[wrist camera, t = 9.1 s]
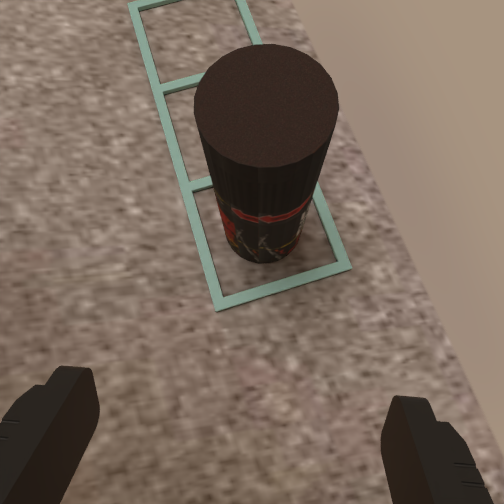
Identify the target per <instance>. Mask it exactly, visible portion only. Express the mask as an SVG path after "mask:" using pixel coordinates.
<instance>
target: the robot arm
mask: <svg viewBox="0 0 504 504" xmlns="http://www.w3.org/2000/svg"><path fill="white" fill-rule="evenodd" d="M99 413H100V406H99V401H98V396H97V391H96V387H95V382H94V378H93V373H92V370H91V369H90V368H84V367H73V366H59V367H58V368H57V369H56V370H55V371H54V372H53V374H52V375H51V377H50V378H49V380H48V381H47V383H46V384H45V385H35V386H33V387H32V388H31V389H29V390H28V391H27V392H26V393H24V394H23V395H22V396H21V397H19V398H18V399H17V400H16V401H15V402H14V403H13V405H12V406H11V408H10V409H9V410H8V412H7V413H6V414H5V416H4V417H3V418H2V422H1V423H0V504H60V502H61V500H62V498H63V496H64V494H65V492H66V490H67V488H68V486H69V483H70V481H71V479H72V477H73V475H74V473H75V471H76V469H77V467H78V465H79V463H80V461H81V458H82V456H83V454H84V452H85V450H86V448H87V446H88V444H89V442H90V440H91V438H92V436H93V433H94V431H95V429H96V426H97V423H98V419H99ZM381 454H382V460H383V464H384V468H385V472H386V476H387V481H388V485H389V489H390V493H391V498H392V502H393V504H494V503H493V501H492V499H491V497H490V494H489V492H488V490H487V488H485V486H484V481H483V479H482V477H481V475H480V472H479V470H478V469H476V464H475V461H474V459H473V457H472V455H471V453H470V450H469V448H468V446H467V444H466V442H465V441H464V439H463V438H462V437H461V436H460V435H459V434H458V433H457V431H456V430H455V429H454V428H453V427H452V426H451V424H450V423H449V422H440V421H437V420H436V418H435V415H434V413H433V410H432V408H431V405H430V403H429V402H428V400H427V399H426V398H420V397H409V396H397V395H396V396H394V397H393V399H392V402H391V405H390V408H389V411H388V414H387V417H386V420H385V423H384V426H383V430H382V433H381Z"/></svg>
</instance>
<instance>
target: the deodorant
mask: <svg viewBox="0 0 504 504" xmlns="http://www.w3.org/2000/svg"><path fill="white" fill-rule="evenodd" d="M338 111H339V104H338V93H337V90H336V88H335V86H334V83H333V81H332V78H331V77H330V75H329V74H328V73H327V72H326V70H325V69H324V68H323V67H322V66H321V64H319V63H318V62H317V61H315V60H314V59H313V58H311V57H310V56H309V55H307V54H305V53H303V52H301V51H298V50H296V49H294V48H291V47H286V46H281V45H276V44H256V45H251V46H247V47H243V48H239V49H236V50H234V51H232V52H230V53H228V54H226V55H224V56H222V57H221V58H220V59H219V60H218V61H216V62H215V63H214V64H213V65H212V66H210V67H209V68H208V70H207V71H206V73H205V74H204V75H203V77H202V78H201V80H200V81H199V84H198V87H197V90H196V93H195V96H194V115H195V119H196V123H197V127H198V131H199V135H200V138H201V142H202V146H203V150H204V154H205V157H206V161H207V165H208V169H209V173H210V176H211V180H212V184H213V188H214V192H215V196H216V199H217V203H218V207H219V211H220V215H221V218H222V222H223V226H224V230H225V234H226V237H227V241H228V243H229V244H230V246H231V248H232V249H233V250H234V251H235V252H236V253H237V254H238V255H239V256H240V257H242V258H244V259H246V260H248V261H251V262H255V263H271V262H274V261H278V260H280V259H282V258H283V257H285V256H287V255H288V254H289V253H290V252H291V251H292V250H293V249H294V247H295V246H296V244H297V242H298V240H299V237H300V234H301V231H302V228H303V225H304V222H305V218H306V215H307V212H308V209H309V206H310V203H311V200H312V197H313V194H314V190H315V187H316V184H317V181H318V178H319V175H320V172H321V169H322V165H323V162H324V159H325V156H326V153H327V150H328V147H329V144H330V141H331V137H332V134H333V131H334V128H335V125H336V120H337V116H338Z"/></svg>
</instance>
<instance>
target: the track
mask: <svg viewBox="0 0 504 504" xmlns="http://www.w3.org/2000/svg"><path fill="white" fill-rule="evenodd" d="M176 1H180V0H138V1H134V2H130V3H127V4H128V8H129V11H130V15H131V18H132V21H133V25H134V28H135V32H136V35H137V39H138V42H139V46H140V49H141V53H142V56H143V60H144V63H145V67H146V70H147V74H148V77H149V81H150V84H151V88H152V91H153V95H154V98H155V102H156V105H157V109H158V112H159V116H160V119H161V123H162V126H163V129H164V133H165V136H166V140H167V143H168V147H169V150H170V154H171V157H172V161H173V164H174V168H175V171H176V175H177V178H178V182H179V185H180V189H181V192H182V196H183V199H184V203H185V206H186V210H187V213H188V217H189V220H190V224H191V227H192V231H193V234H194V237H195V241H196V244H197V248H198V251H199V255H200V258H201V262H202V265H203V269H204V272H205V276H206V279H207V283H208V286H209V290H210V293H211V297H212V300H213V304H214V307H215V311H216V312H218V311H221V310H224V309H227V308H231V307H234V306H237V305H240V304H243V303H246V302H249V301H253V300H256V299H259V298H262V297H265V296H268V295H272V294H275V293H278V292H281V291H284V290H287V289H291V288H294V287H297V286H300V285H303V284H306V283H310V282H313V281H316V280H319V279H322V278H325V277H329V276H332V275H335V274H338V273H341V272H344V271H348V270H351V269H352V266H351V264H350V261H349V259H348V256H347V254H346V251H345V249H344V246H343V244H342V241H341V239H340V236H339V234H338V231H337V229H336V226H335V224H334V221H333V219H332V216H331V214H330V211H329V209H328V206H327V204H326V201H325V199H324V196H323V194H322V191H321V189H320V186H319V184H318V181H317V184H316V187H315V190H314V194H313V197H312V199H313V202H314V204H315V207H316V209H317V212H318V215H319V217H320V220H321V222H322V225H323V227H324V230H325V233H326V235H327V238H328V240H329V243H330V245H331V248H332V251H333V253H334V256H335V258H336V261H337V262H335V263H332V264H328V265H325V266H322V267H319V268H316V269H313V270H309V271H306V272H303V273H300V274H297V275H293V276H290V277H287V278H284V279H281V280H278V281H274V282H271V283H268V284H265V285H262V286H258V287H255V288H252V289H249V290H246V291H242V292H239V293H236V294H233V295H230V296H227V297H223V295H222V291H221V288H220V284H219V281H218V278H217V274H216V271H215V268H214V264H213V261H212V257H211V254H210V251H209V247H208V244H207V240H206V237H205V234H204V230H203V227H202V224H201V220H200V217H199V213H198V210H197V207H196V203H195V200H194V196H193V192H197V191H200V190H203V189H207V188H210V187H213V184H212V180H211V176H207V177H204V178H201V179H197V180H194V181H190V182H189V180H188V176H187V173H186V169H185V166H184V163H183V159H182V156H181V152H180V149H179V146H178V142H177V139H176V136H175V132H174V129H173V125H172V122H171V119H170V115H169V112H168V109H167V105H166V102H165V98H164V95H165V94H169V93H172V92H176V91H179V90H183V89H187V88H190V87H194V86H198V84H199V81H200V80H201V78H202V77H203V75H204V74H205V73H206V72H204V73H200V74H197V75H193V76H189V77H186V78H182V79H178V80H175V81H171V82H167V83H164V84H160V81H159V78H158V75H157V71H156V68H155V65H154V61H153V58H152V54H151V51H150V48H149V44H148V41H147V37H146V34H145V31H144V27H143V24H142V21H141V17H140V14H139V11H142V10H146V9H149V8H153V7H157V6H161V5H165V4H169V3H173V2H176ZM235 2H236V4H237V7H238V9H239V12H240V14H241V17H242V20H243V22H244V25H245V27H246V30H247V32H248V35H249V38H250V40H251V43H252V45H256V44H263V43H262V41H261V38H260V36H259V33H258V31H257V28H256V26H255V23H254V21H253V18H252V16H251V13H250V11H249V8H248V6H247V3H246V1H245V0H235Z"/></svg>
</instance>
